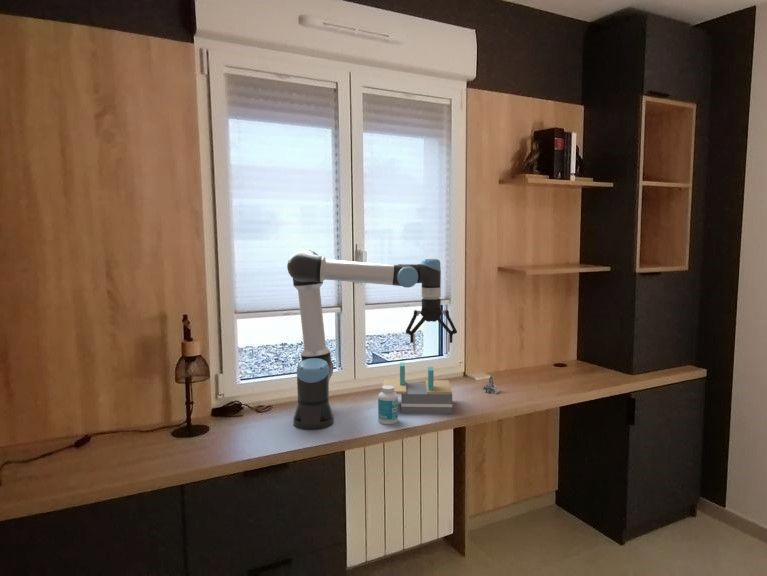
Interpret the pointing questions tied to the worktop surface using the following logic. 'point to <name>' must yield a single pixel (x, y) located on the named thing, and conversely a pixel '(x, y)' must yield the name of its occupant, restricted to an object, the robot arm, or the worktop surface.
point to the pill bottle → (387, 406)
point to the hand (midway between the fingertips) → (431, 350)
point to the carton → (424, 401)
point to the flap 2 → (437, 384)
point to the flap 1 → (398, 381)
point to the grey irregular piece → (491, 387)
